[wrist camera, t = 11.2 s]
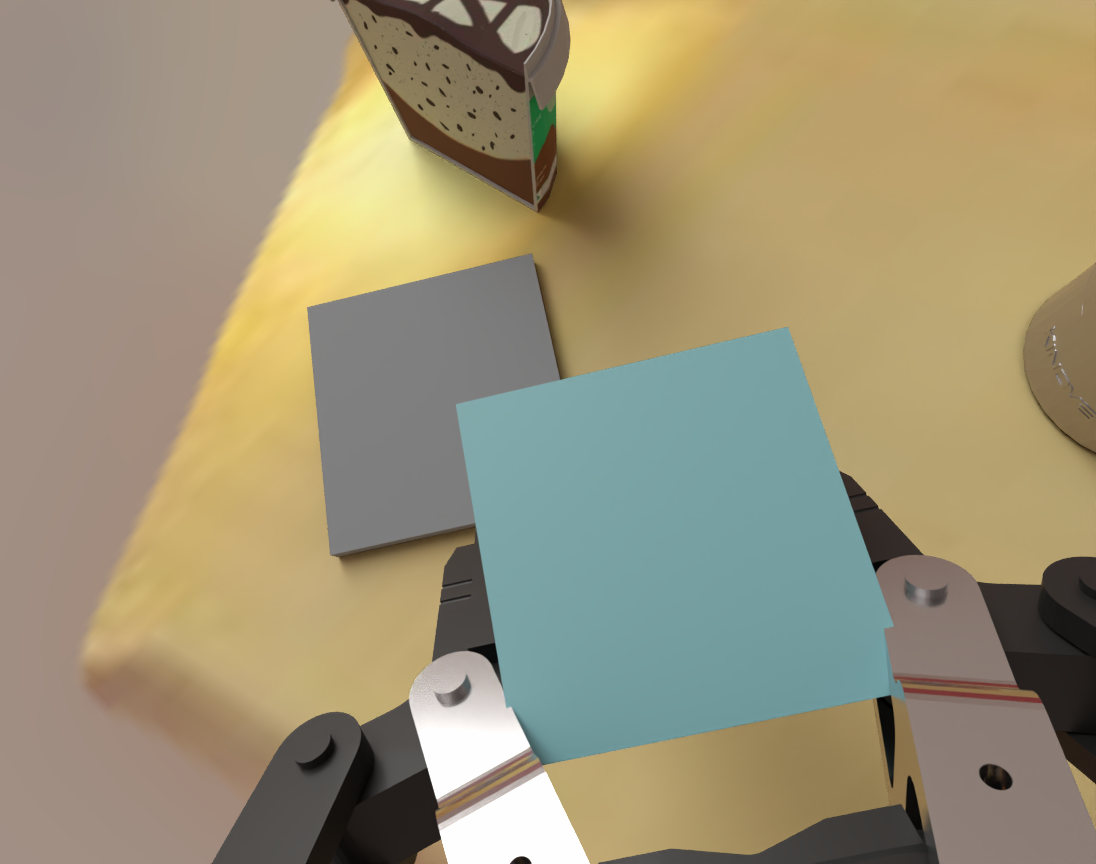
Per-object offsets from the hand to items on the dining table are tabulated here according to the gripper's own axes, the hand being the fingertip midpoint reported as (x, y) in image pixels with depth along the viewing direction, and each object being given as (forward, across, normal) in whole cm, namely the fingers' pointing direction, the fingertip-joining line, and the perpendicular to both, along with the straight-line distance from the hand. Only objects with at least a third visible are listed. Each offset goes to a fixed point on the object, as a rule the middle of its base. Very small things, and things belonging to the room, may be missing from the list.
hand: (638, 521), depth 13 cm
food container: (+29, +1, -6) cm, 30 cm away
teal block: (+3, 0, +5) cm, 6 cm away
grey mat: (+18, +7, +4) cm, 20 cm away
